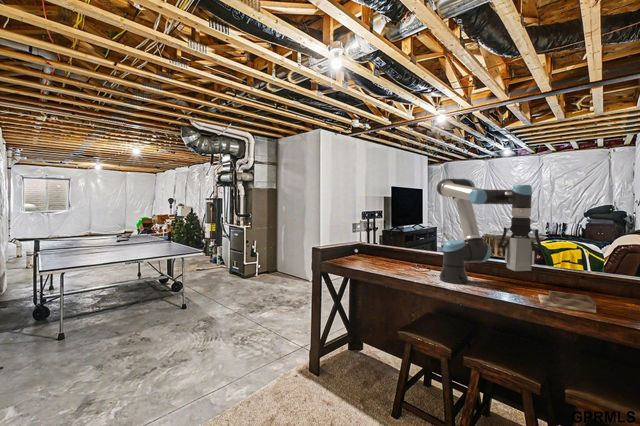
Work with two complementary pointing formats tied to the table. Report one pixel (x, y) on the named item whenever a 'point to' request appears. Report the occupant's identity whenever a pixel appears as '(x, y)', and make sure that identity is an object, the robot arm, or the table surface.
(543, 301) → the socket board
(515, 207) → the robot arm
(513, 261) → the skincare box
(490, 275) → the table surface
